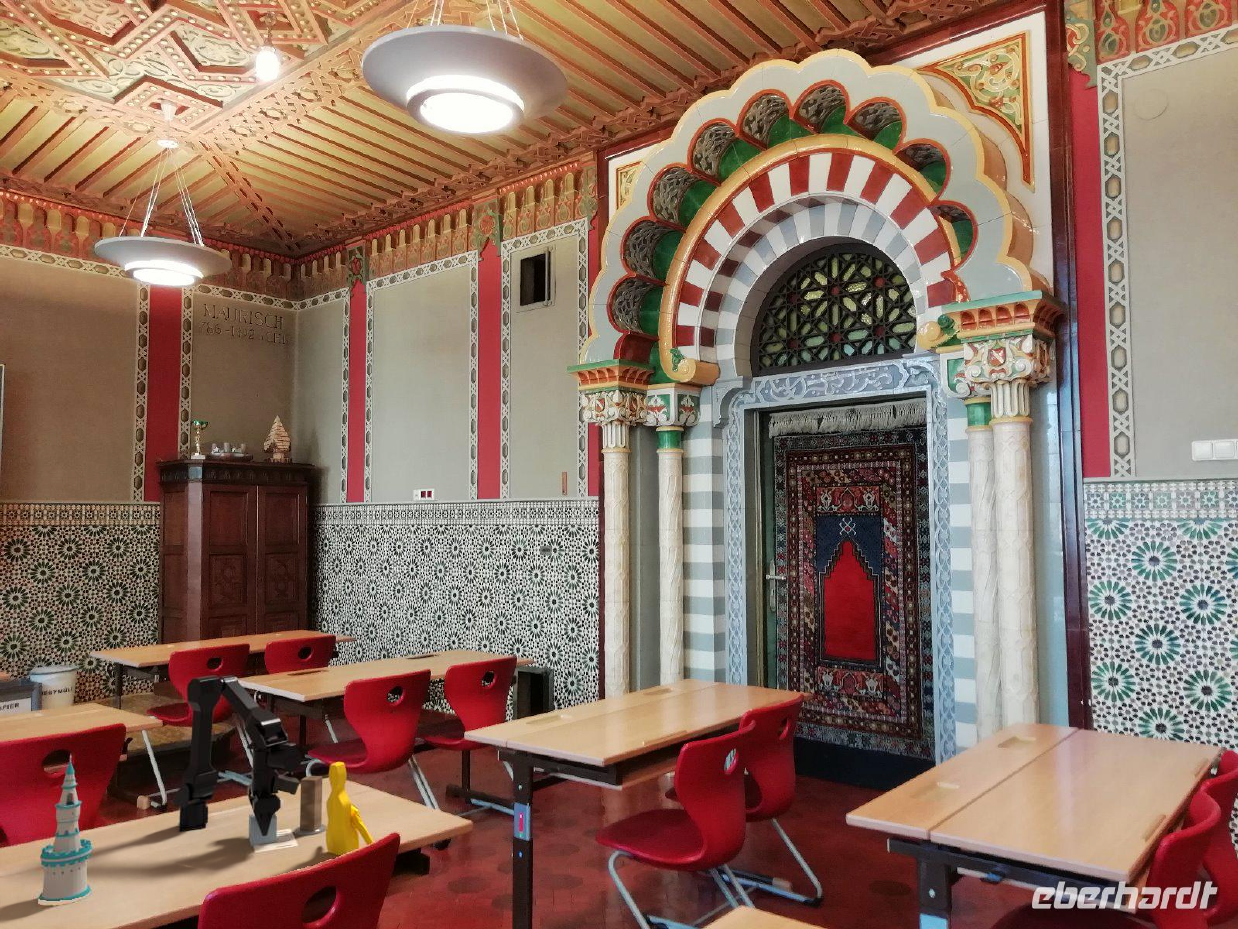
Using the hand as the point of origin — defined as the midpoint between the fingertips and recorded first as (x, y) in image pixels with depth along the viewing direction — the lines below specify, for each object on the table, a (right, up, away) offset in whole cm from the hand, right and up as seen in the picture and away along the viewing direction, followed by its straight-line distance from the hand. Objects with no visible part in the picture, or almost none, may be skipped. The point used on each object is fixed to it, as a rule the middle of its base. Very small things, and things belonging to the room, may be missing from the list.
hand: (262, 830), depth 225 cm
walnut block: (+10, -3, +8) cm, 13 cm away
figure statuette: (+23, -2, -9) cm, 25 cm away
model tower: (-29, 0, -34) cm, 45 cm away
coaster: (+10, -3, +7) cm, 13 cm away
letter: (+3, -3, 0) cm, 4 cm away
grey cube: (0, -3, 0) cm, 3 cm away
